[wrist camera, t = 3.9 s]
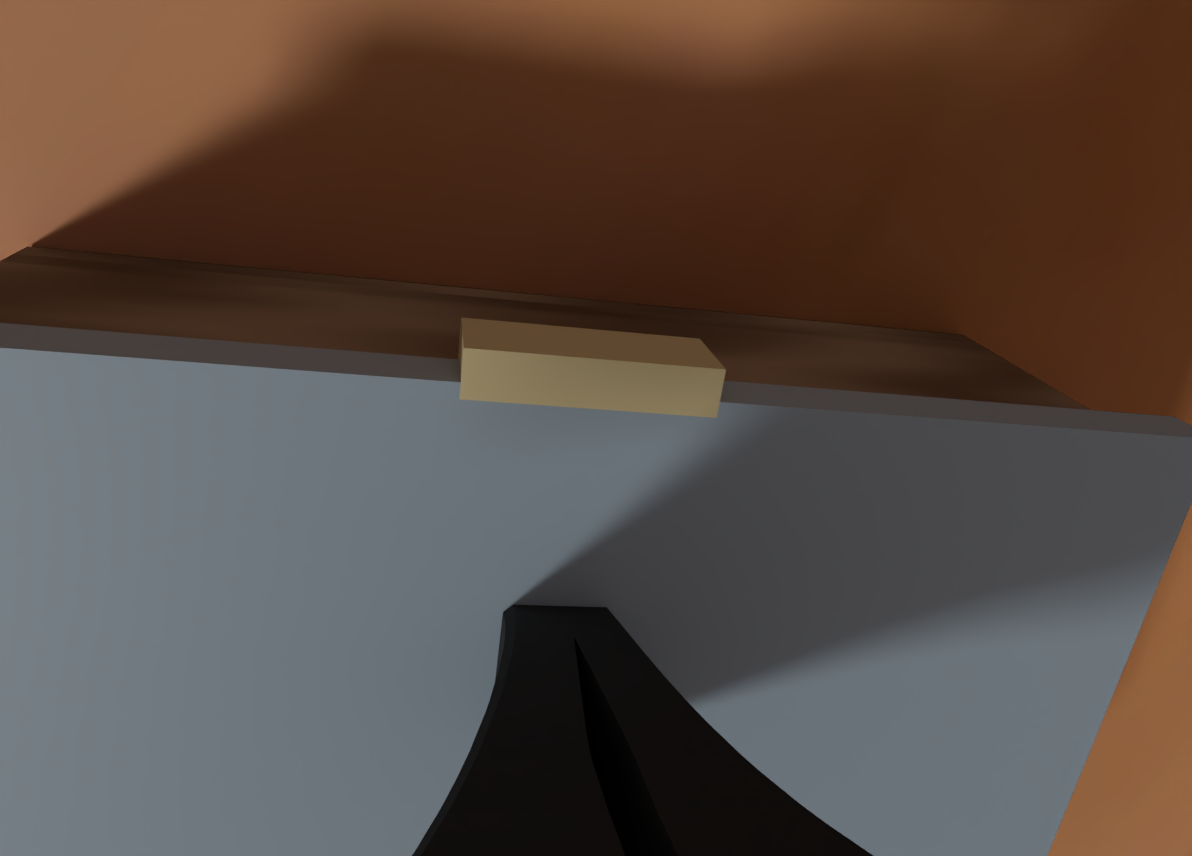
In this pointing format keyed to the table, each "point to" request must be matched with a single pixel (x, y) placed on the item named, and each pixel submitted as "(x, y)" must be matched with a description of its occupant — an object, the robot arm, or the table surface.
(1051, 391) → the box
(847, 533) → the lid
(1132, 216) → the table surface
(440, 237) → the table surface
